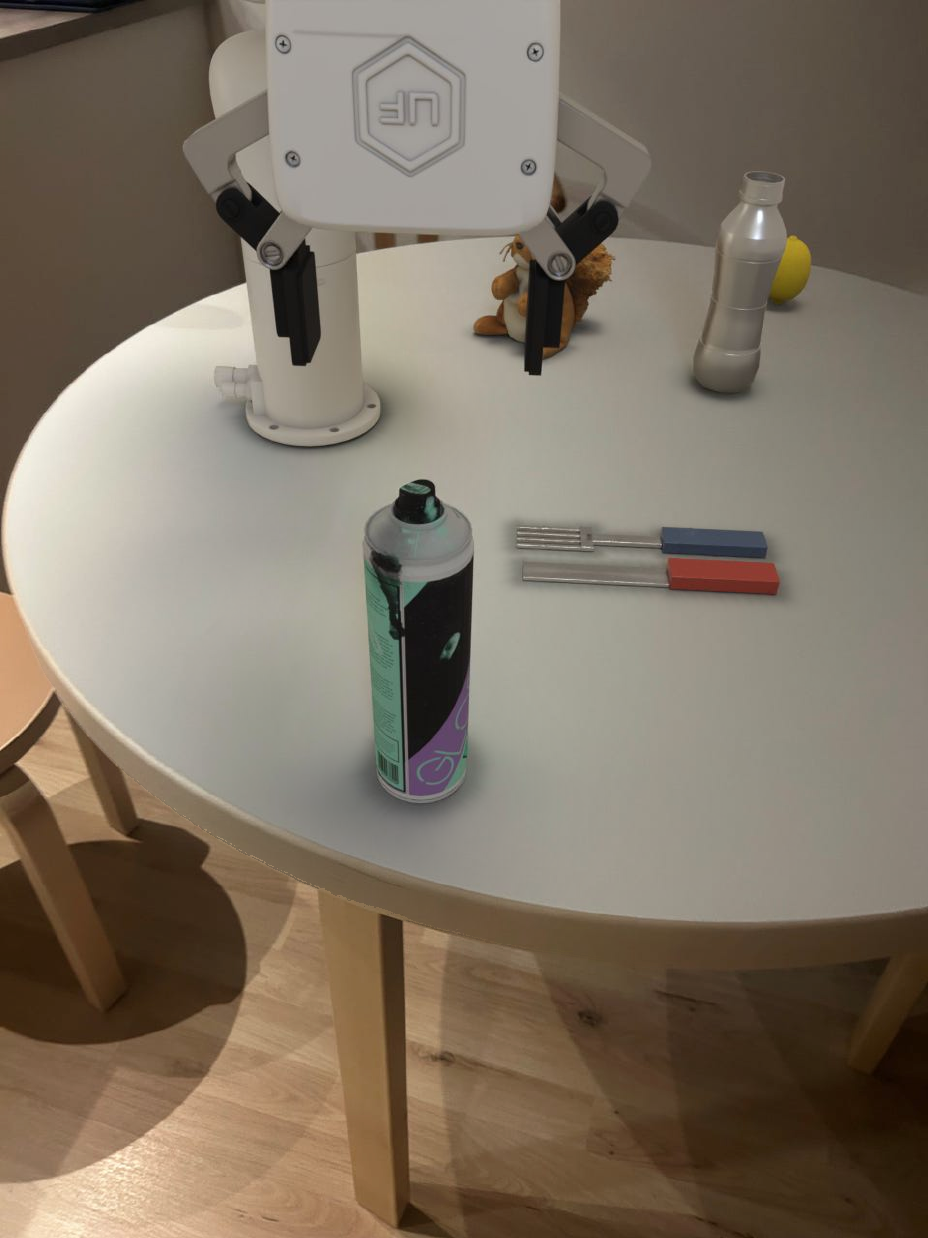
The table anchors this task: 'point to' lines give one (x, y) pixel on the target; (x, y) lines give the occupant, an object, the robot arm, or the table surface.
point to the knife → (666, 575)
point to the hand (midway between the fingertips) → (419, 357)
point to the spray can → (419, 641)
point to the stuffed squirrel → (516, 289)
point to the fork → (649, 540)
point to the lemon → (791, 271)
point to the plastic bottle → (742, 285)
